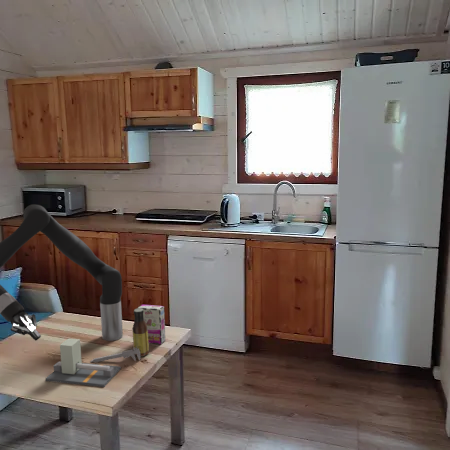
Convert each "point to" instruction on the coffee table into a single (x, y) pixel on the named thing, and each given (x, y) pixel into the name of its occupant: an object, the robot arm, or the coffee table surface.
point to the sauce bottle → (140, 332)
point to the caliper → (120, 355)
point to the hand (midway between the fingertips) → (38, 338)
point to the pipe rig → (85, 374)
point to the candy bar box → (154, 323)
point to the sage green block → (70, 355)
